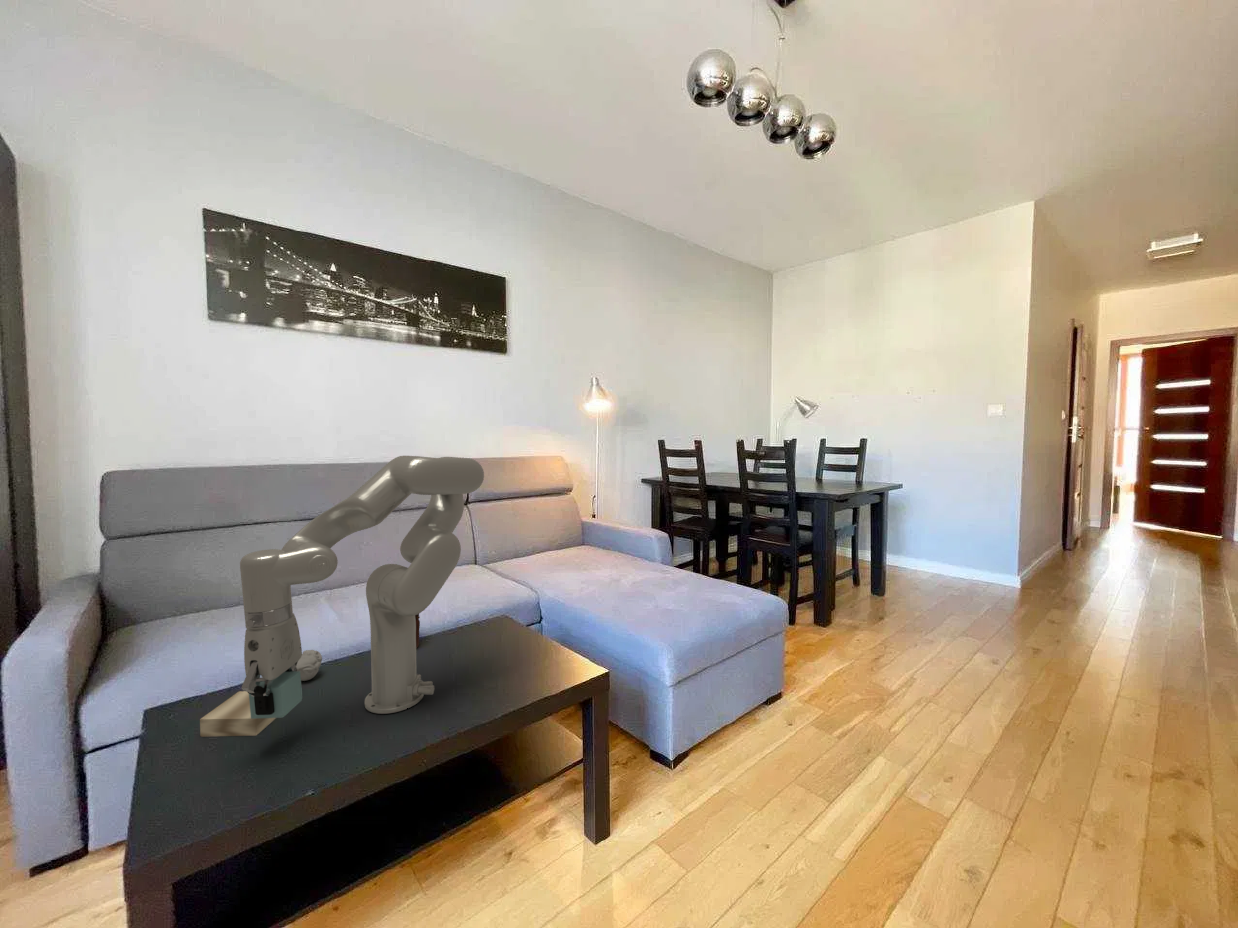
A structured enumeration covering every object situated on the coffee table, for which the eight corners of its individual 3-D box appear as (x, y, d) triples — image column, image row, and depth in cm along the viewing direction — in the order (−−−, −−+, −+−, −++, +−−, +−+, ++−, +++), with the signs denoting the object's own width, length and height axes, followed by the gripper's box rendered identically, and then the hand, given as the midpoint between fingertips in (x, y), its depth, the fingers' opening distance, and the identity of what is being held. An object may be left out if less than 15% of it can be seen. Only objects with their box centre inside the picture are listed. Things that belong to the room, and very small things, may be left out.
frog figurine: (328, 672, 127) (327, 646, 127) (309, 686, 120) (308, 658, 120) (306, 671, 128) (305, 645, 127) (285, 685, 121) (284, 657, 120)
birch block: (289, 707, 112) (289, 690, 112) (256, 737, 101) (255, 718, 101) (239, 708, 111) (238, 691, 111) (200, 738, 100) (199, 719, 100)
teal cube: (302, 699, 100) (300, 671, 99) (283, 717, 94) (280, 687, 93) (272, 700, 100) (269, 672, 99) (251, 718, 94) (248, 688, 93)
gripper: (257, 633, 86) (266, 730, 88) (315, 598, 104) (321, 679, 105) (213, 634, 86) (223, 732, 88) (279, 599, 103) (286, 681, 105)
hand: (277, 702), depth 97 cm, fingers closed on teal cube, 6 cm apart
